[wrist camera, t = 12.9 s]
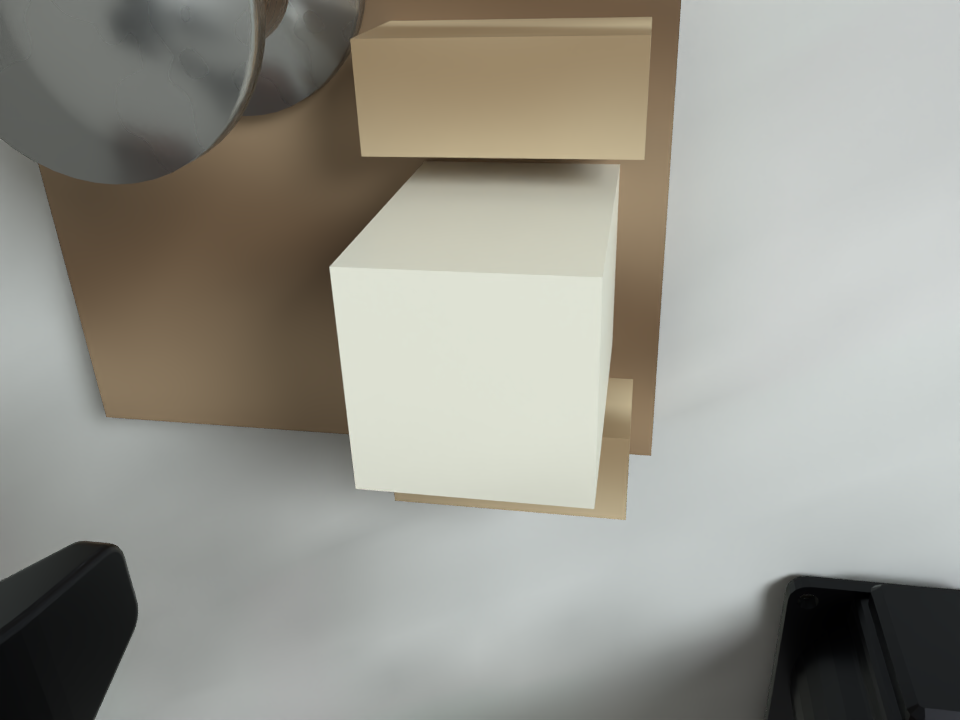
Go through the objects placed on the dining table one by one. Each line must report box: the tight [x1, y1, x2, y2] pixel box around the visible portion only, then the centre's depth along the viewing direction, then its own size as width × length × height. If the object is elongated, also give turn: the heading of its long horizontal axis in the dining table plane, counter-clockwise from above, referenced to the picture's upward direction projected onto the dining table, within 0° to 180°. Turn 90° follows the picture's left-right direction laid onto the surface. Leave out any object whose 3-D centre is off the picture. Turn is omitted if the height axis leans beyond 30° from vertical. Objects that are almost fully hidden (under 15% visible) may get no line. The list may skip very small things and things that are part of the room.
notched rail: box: [350, 17, 652, 520], centre depth 18 cm, size 10×5×2 cm, turn 2°
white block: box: [329, 161, 620, 509], centre depth 16 cm, size 4×4×6 cm
